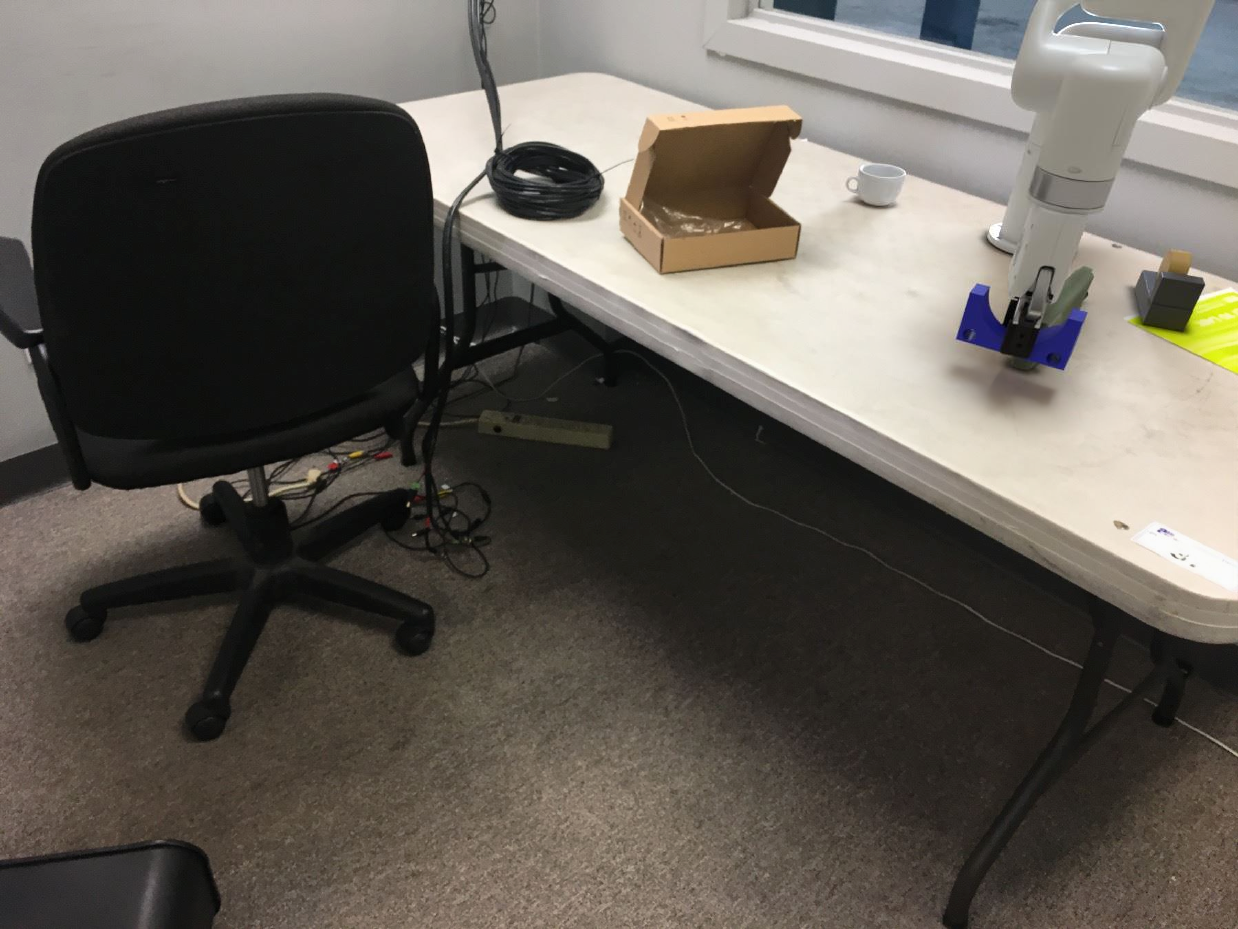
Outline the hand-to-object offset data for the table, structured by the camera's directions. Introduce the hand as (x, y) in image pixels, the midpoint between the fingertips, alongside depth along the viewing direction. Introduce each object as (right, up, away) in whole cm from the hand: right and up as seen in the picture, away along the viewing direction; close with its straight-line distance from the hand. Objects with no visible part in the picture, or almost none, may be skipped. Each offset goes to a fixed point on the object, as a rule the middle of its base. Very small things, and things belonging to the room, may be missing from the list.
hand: (1014, 342), depth 100 cm
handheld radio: (+11, +3, +14) cm, 18 cm away
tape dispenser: (+29, +7, +20) cm, 36 cm away
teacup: (-2, +31, +51) cm, 60 cm away
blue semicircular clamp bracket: (0, -1, +1) cm, 1 cm away
